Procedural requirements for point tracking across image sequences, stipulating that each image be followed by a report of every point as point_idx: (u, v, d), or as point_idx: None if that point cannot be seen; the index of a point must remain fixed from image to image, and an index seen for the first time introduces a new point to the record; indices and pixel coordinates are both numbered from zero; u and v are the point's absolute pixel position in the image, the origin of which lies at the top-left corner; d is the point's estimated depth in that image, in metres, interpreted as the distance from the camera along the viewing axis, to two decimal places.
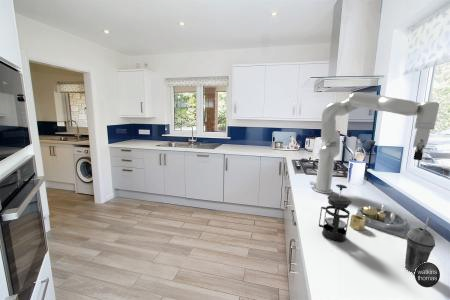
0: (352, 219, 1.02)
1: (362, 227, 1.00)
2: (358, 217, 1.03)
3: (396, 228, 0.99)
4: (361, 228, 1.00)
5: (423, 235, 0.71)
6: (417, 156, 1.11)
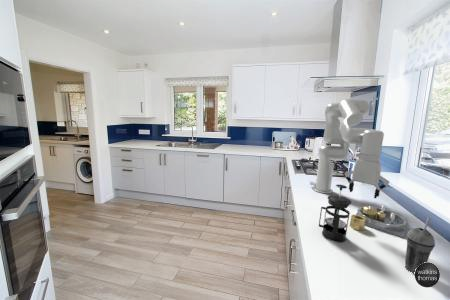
0: (352, 219, 1.02)
1: (362, 227, 1.00)
2: (358, 217, 1.03)
3: (396, 228, 0.99)
4: (361, 228, 1.00)
5: (423, 235, 0.71)
6: (378, 194, 0.95)
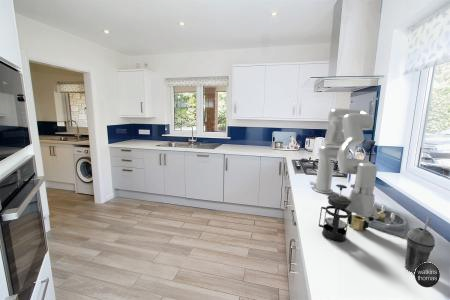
0: (352, 219, 1.02)
1: (362, 227, 1.00)
2: (358, 217, 1.03)
3: (396, 228, 0.99)
4: (361, 228, 1.00)
5: (423, 235, 0.71)
6: (367, 226, 0.99)
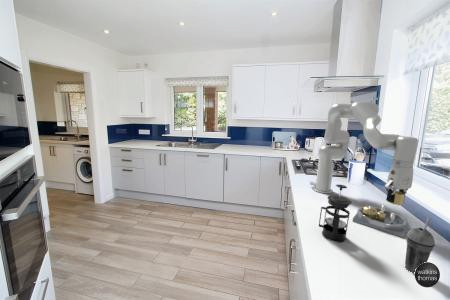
0: (397, 196, 0.99)
1: None
2: None
3: (396, 228, 0.99)
4: None
5: (423, 235, 0.71)
6: None
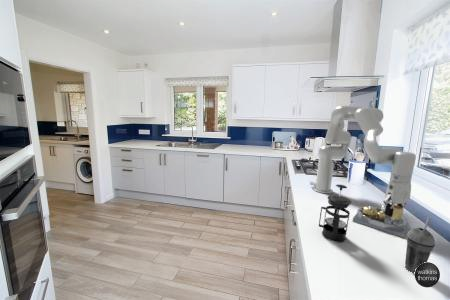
0: (396, 210, 1.00)
1: None
2: None
3: (396, 228, 0.99)
4: None
5: (423, 235, 0.71)
6: None
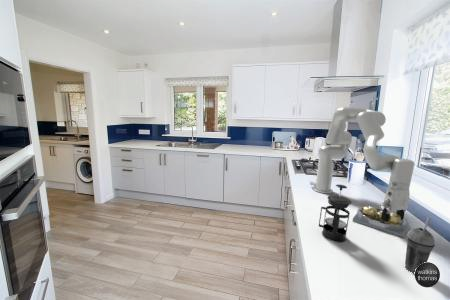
0: (394, 219, 1.01)
1: None
2: None
3: (396, 228, 0.99)
4: None
5: (423, 235, 0.71)
6: None
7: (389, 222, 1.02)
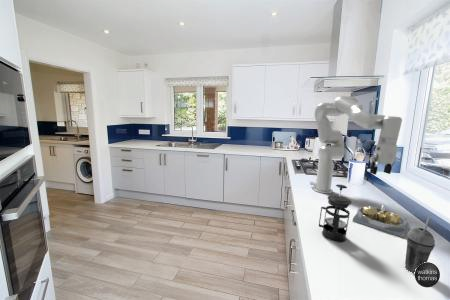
0: (394, 219, 1.01)
1: None
2: None
3: (396, 228, 0.99)
4: None
5: (423, 235, 0.71)
6: None
7: (389, 222, 1.02)
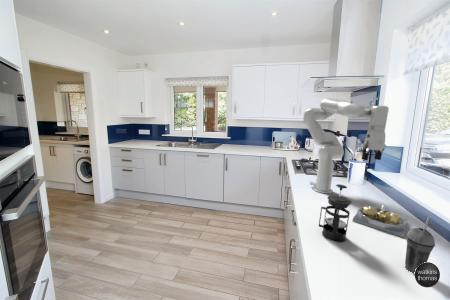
0: (394, 219, 1.01)
1: None
2: None
3: (396, 228, 0.99)
4: None
5: (423, 235, 0.71)
6: None
7: (389, 222, 1.02)
